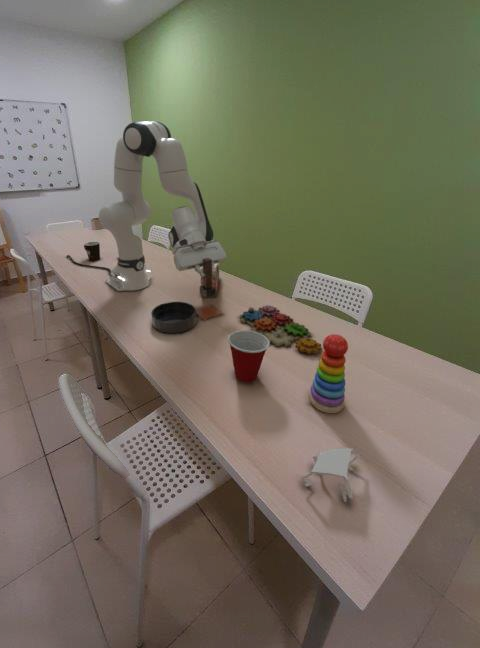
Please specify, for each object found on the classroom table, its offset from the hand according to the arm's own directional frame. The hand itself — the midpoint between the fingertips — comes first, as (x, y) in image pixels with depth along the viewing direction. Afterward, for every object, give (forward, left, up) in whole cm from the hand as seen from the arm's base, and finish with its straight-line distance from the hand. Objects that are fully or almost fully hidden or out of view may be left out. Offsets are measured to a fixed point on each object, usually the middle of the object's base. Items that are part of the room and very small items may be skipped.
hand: (208, 275), depth 109 cm
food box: (-15, +21, -16) cm, 30 cm away
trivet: (-1, 0, -16) cm, 16 cm away
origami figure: (+58, -35, -16) cm, 70 cm away
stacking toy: (+50, -17, -16) cm, 55 cm away
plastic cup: (+30, -21, -16) cm, 40 cm away
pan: (-6, -13, -16) cm, 21 cm away
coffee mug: (-98, +10, -16) cm, 99 cm away
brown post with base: (-1, 0, -8) cm, 8 cm away
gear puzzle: (+27, +5, -16) cm, 32 cm away
